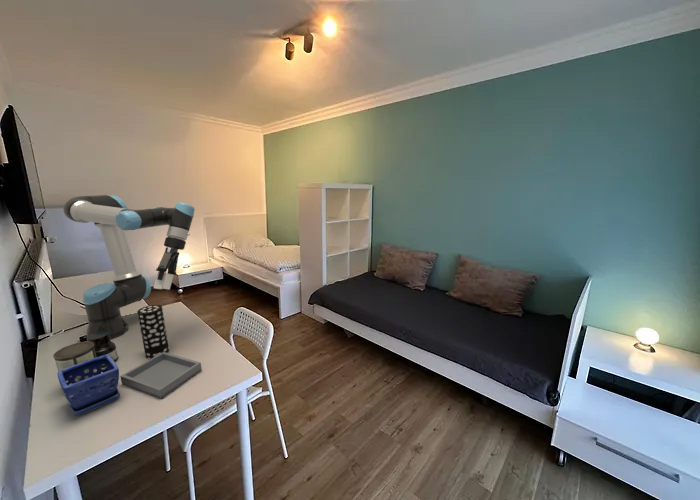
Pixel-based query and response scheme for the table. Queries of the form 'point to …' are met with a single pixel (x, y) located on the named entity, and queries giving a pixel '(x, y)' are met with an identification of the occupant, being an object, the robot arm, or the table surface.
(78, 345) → the coffee can
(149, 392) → the tray
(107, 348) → the ink bottle
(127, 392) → the table surface
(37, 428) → the table surface
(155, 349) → the white-spotted black cylinder
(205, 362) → the table surface
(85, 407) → the flower pot
